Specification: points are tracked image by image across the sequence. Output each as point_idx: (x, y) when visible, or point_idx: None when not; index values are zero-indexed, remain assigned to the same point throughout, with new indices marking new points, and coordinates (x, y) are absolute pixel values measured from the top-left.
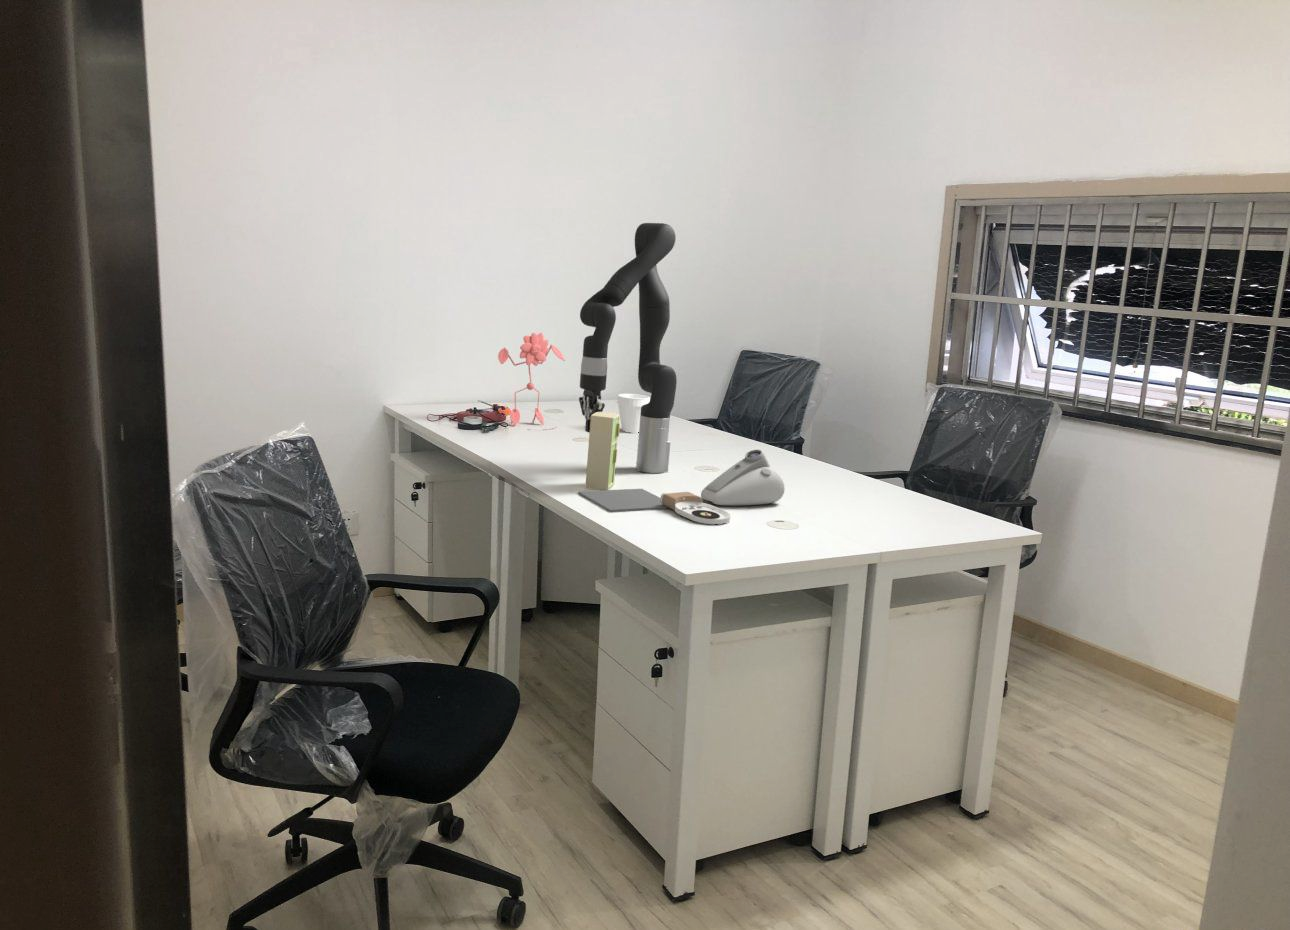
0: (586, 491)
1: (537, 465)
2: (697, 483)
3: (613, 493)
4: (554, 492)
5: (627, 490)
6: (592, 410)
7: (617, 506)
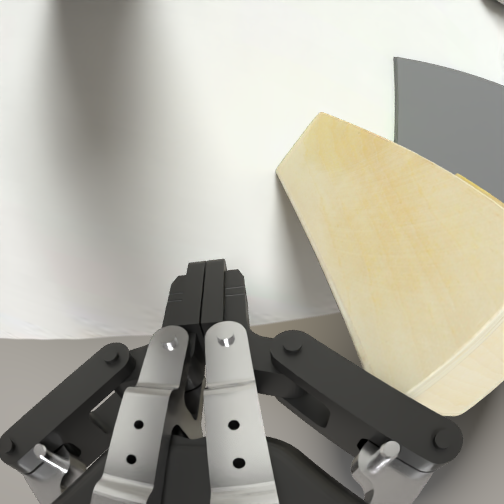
0: None
1: (63, 267)
2: None
3: None
4: None
5: (410, 115)
6: (326, 435)
7: None
